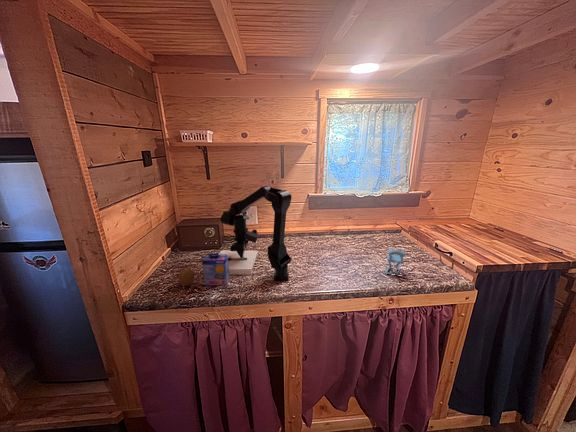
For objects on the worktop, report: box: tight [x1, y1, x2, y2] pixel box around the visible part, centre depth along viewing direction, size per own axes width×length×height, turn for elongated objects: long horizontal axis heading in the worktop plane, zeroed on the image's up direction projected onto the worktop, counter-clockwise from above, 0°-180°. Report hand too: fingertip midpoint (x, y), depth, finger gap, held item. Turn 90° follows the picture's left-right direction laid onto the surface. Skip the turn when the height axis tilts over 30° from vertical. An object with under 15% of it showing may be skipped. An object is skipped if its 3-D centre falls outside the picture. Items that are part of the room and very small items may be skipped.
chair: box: [384, 247, 406, 277], centre depth 107 cm, size 8×8×12 cm
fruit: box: [178, 267, 195, 287], centre depth 97 cm, size 6×6×8 cm
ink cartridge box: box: [201, 253, 230, 286], centre depth 98 cm, size 10×6×14 cm, turn 94°
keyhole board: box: [217, 249, 259, 276], centre depth 115 cm, size 20×20×3 cm
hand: (242, 256), depth 115 cm, fingers closed
